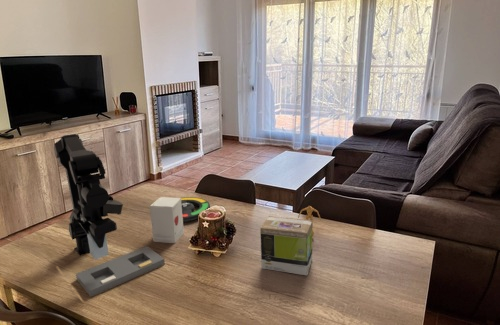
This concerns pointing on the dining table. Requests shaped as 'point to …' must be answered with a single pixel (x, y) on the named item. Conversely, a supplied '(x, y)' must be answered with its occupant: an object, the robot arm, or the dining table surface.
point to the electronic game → (192, 207)
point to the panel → (119, 270)
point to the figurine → (309, 212)
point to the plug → (97, 248)
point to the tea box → (286, 245)
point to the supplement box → (167, 220)
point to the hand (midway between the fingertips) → (98, 245)
